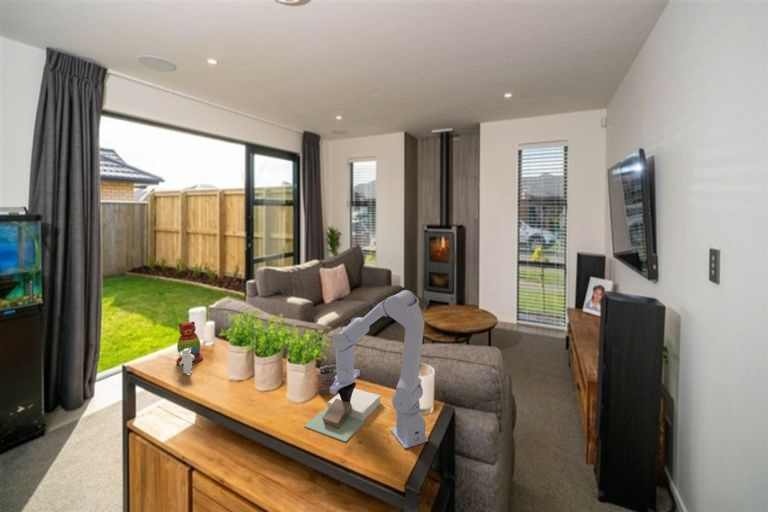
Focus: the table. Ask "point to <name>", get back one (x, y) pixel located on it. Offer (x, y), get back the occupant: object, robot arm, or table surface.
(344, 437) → the mat
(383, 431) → the table surface
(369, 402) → the white flat block
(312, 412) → the table surface
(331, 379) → the lighter
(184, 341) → the stacking bear
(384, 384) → the table surface
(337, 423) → the walnut tile
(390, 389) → the table surface
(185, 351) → the flower shoulder figurine
